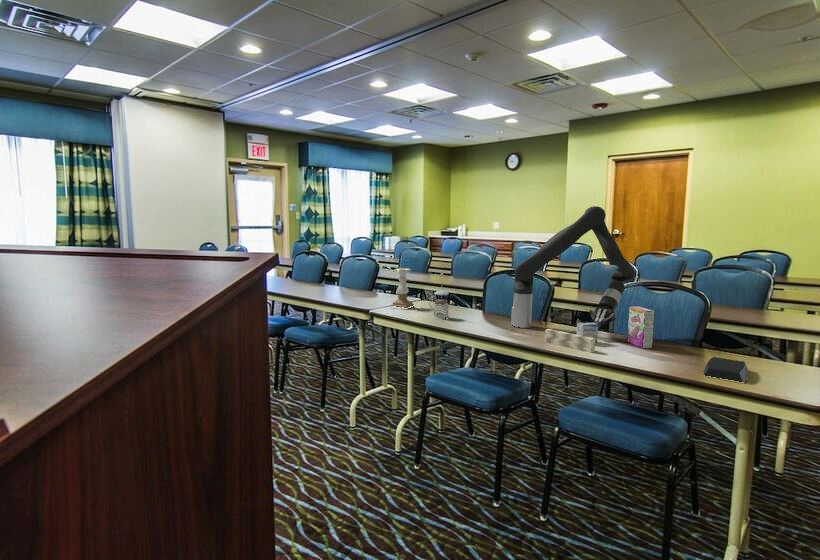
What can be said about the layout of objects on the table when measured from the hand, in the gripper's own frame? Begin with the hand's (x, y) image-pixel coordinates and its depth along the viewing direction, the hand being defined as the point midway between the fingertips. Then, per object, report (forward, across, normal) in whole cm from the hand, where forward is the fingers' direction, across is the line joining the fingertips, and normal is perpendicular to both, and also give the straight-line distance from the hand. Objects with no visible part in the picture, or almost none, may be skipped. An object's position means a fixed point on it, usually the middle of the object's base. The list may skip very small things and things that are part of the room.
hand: (595, 329), depth 215 cm
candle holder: (+16, -116, -9) cm, 117 cm away
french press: (+19, -79, -12) cm, 82 cm away
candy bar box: (-1, +17, +8) cm, 19 cm away
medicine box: (+9, 0, -1) cm, 9 cm away
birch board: (+18, -1, -11) cm, 21 cm away
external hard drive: (+10, +54, -2) cm, 55 cm away
